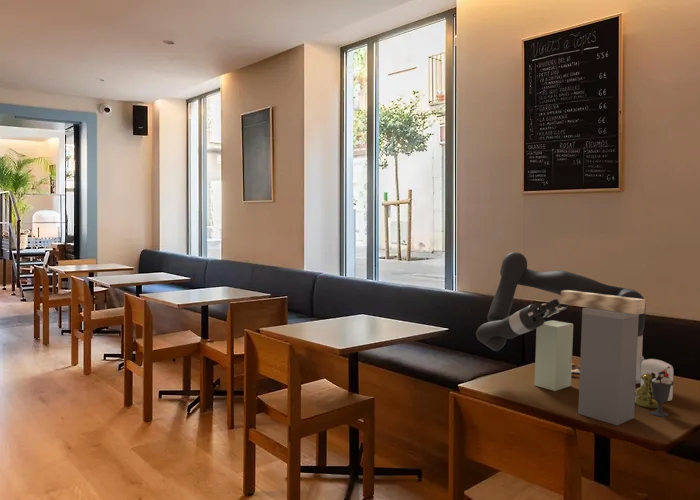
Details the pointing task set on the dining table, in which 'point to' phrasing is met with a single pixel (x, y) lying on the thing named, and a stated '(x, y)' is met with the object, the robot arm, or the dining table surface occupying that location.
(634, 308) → the ash bar
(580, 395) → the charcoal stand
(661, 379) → the sundae
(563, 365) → the sage green pillar
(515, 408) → the dining table surface
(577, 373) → the sushi roll
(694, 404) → the dining table surface
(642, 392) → the gold buddha statue
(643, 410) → the dining table surface
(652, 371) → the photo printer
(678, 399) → the dining table surface
